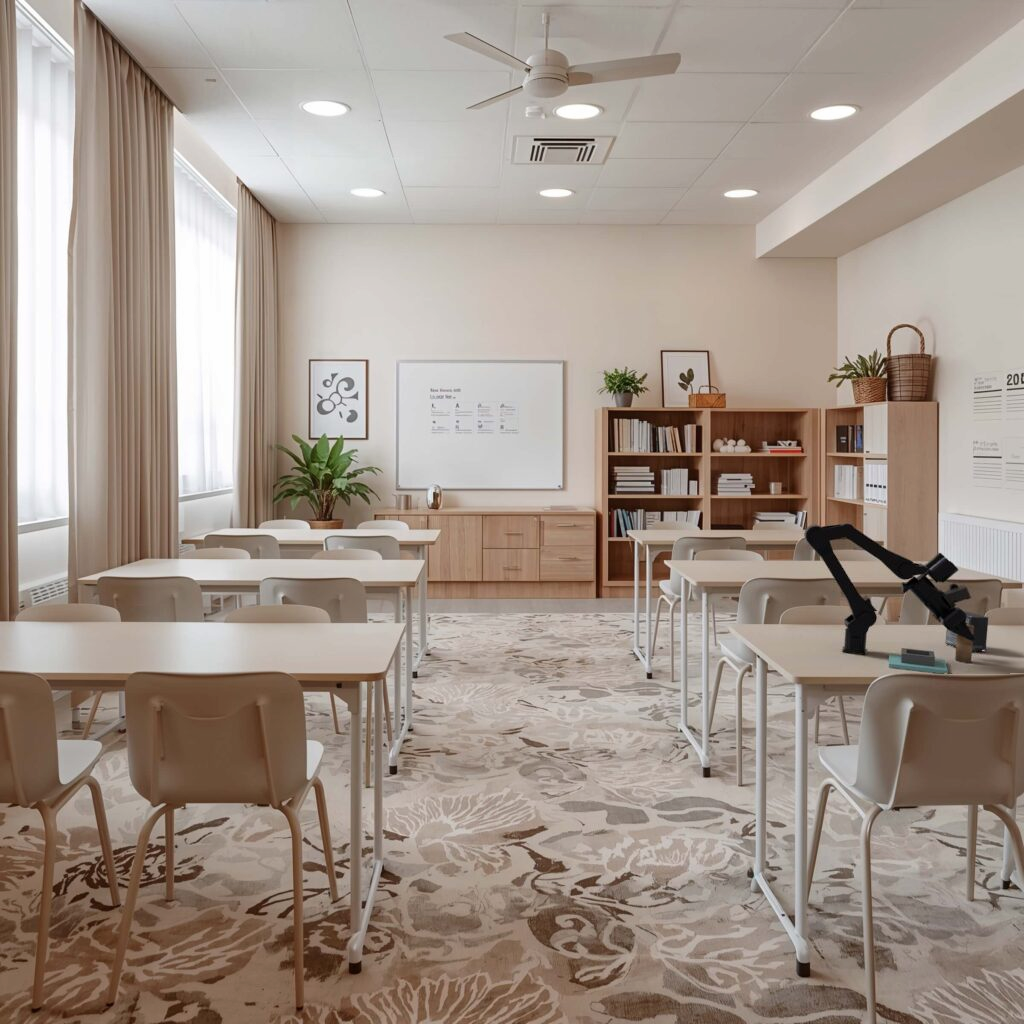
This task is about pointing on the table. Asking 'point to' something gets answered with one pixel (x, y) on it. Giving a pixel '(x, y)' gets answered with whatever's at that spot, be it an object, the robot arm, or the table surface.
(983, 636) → the small box
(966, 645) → the peg
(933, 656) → the docking socket
